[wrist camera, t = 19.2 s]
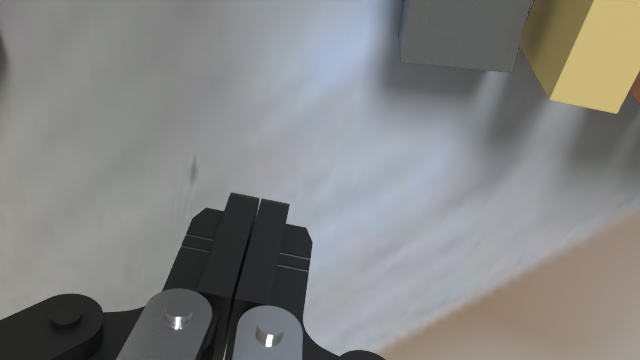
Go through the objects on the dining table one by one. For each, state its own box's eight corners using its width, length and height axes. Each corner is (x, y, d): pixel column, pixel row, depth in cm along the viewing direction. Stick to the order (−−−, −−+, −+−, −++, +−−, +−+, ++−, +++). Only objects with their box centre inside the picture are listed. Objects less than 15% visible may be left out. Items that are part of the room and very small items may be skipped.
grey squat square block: (398, 35, 42) (401, 62, 38) (413, -71, 38) (418, -54, 34) (498, 44, 42) (512, 72, 38) (523, -62, 38) (542, -43, 34)
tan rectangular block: (517, 43, 42) (549, 99, 34) (552, -46, 38) (595, -5, 31) (573, 55, 42) (616, 113, 34) (612, -32, 39) (670, 12, 31)
